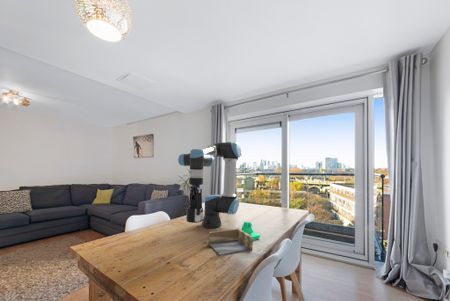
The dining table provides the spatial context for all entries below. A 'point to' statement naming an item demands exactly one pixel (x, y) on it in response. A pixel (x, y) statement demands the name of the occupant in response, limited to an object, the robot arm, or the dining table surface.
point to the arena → (230, 241)
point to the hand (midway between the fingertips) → (194, 218)
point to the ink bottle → (193, 212)
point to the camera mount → (249, 230)
